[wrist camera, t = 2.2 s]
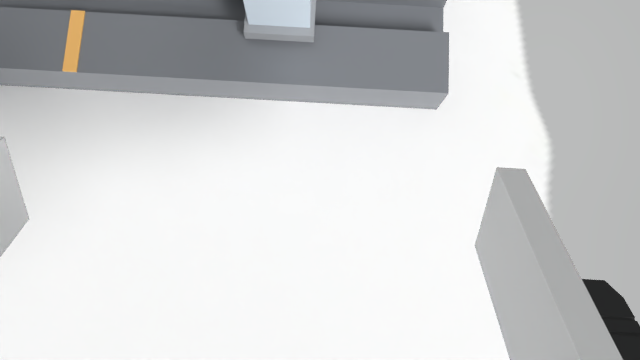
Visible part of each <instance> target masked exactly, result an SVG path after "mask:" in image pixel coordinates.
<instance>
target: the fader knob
mask: <svg viewBox="0 0 640 360" xmlns="http://www.w3.org/2000/svg"><path fill="white" fill-rule="evenodd" d="M243 2H244V6H245V21H244V36H245V39H262V40H280V41H297V42H314V30H315V12H316V0H243Z"/></svg>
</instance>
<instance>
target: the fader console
mask: <svg viewBox="0 0 640 360" xmlns="http://www.w3.org/2000/svg"><path fill="white" fill-rule="evenodd" d="M446 1H447V0H316V12H315V30H314V42H297V41H280V40H262V39H245V36H244V21H245V6H244V2H243V0H0V85H12V86H30V87H48V88H66V89H84V90H102V91H120V92H138V93H156V94H173V95H191V96H209V97H227V98H245V99H263V100H281V101H299V102H317V103H335V104H352V105H370V106H388V107H406V108H424V109H437V108H438V107H439V105H440V104H441V103H442V101H443V100H444V99H445V97H446V96H447V94H448V77H449V33H448V32H443V7H444V5H445V3H446Z"/></svg>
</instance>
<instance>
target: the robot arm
mask: <svg viewBox="0 0 640 360" xmlns="http://www.w3.org/2000/svg"><path fill="white" fill-rule="evenodd" d="M28 220H29V216H28V213H27V210H26V206H25V203H24V200H23V197H22V193H21V190H20V187H19V184H18V180H17V177H16V174H15V170H14V167H13V164H12V161H11V157H10V154H9V151H8V147H7V144H6V141H5V138H4V137H0V257H1V256H2V254H3V253H4V252H5V250H6V249H7V248H8V246H9V245H10V244H11V242H12V241H13V240H14V238H15V237H16V236H17V234H18V233H19V232H20V230H21V229H22V228H23V226H24V225H25V224H26V222H27V221H28ZM475 248H476V251H477V254H478V257H479V261H480V264H481V267H482V270H483V274H484V277H485V280H486V283H487V287H488V290H489V293H490V296H491V299H492V303H493V306H494V309H495V312H496V316H497V319H498V322H499V325H500V329H501V332H502V335H503V338H504V342H505V345H506V348H507V351H508V354H509V358H510V360H640V326H639V324H638V322H637V321H635V320H634V318H635V317H634V315H633V314H632V312H631V310H630V308H629V307H628V305H627V304H626V302H625V300H624V298H623V297H622V296H621V295H620V294H619V293H618V292H616V291H615V290H614V289H613V288H612V287H611V286H610V285H609V284H608V283H607V282H606V281H604V280H588V279H587V280H586V279H581V277H580V275H579V273H578V271H577V269H576V267H575V265H574V263H573V261H572V259H571V257H570V255H569V253H568V252H567V249H566V248H565V246H564V244H563V242H562V240H561V238H560V236H559V234H558V232H557V230H556V228H555V226H554V224H553V222H552V220H551V218H550V216H549V214H548V212H547V210H546V209H545V207H544V205H543V203H542V201H541V199H540V197H539V195H538V193H537V191H536V189H535V187H534V185H533V183H532V181H531V179H530V177H529V175H528V173H527V171H526V169H514V168H498V167H497V169H496V172H495V176H494V179H493V183H492V186H491V190H490V194H489V197H488V201H487V204H486V208H485V211H484V215H483V218H482V222H481V225H480V229H479V233H478V236H477V240H476V243H475Z"/></svg>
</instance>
